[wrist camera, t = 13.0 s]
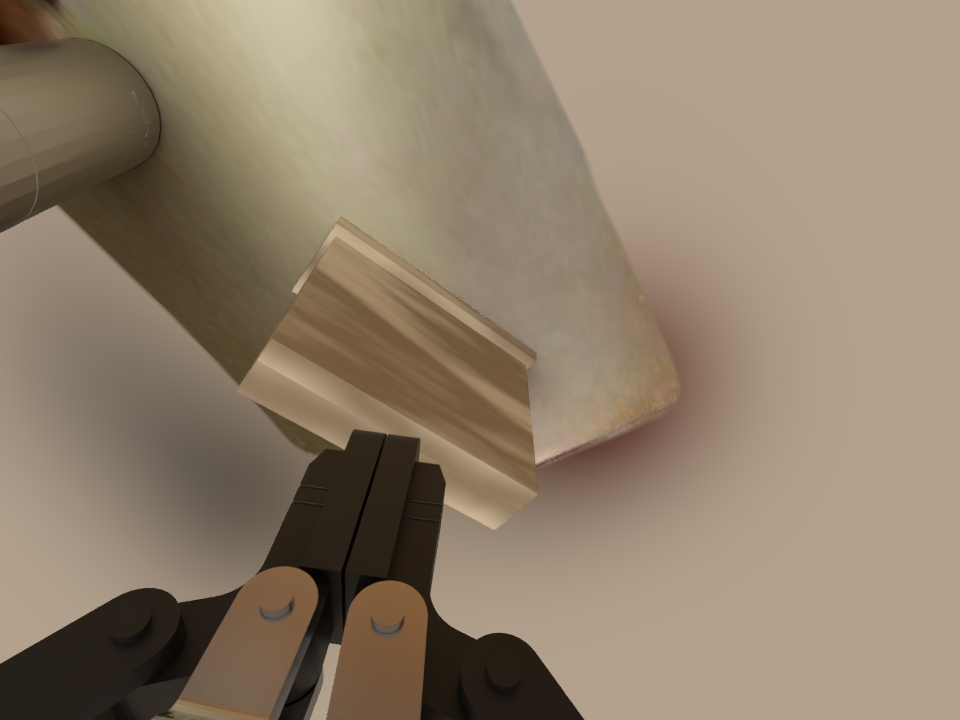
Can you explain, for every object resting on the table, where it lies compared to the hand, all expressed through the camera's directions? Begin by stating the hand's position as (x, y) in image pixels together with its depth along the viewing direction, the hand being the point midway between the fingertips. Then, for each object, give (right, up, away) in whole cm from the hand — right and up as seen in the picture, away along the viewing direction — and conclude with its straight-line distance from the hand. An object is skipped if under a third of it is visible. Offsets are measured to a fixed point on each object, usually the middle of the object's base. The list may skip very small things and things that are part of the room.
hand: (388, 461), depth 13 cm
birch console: (-4, +6, +40) cm, 41 cm away
